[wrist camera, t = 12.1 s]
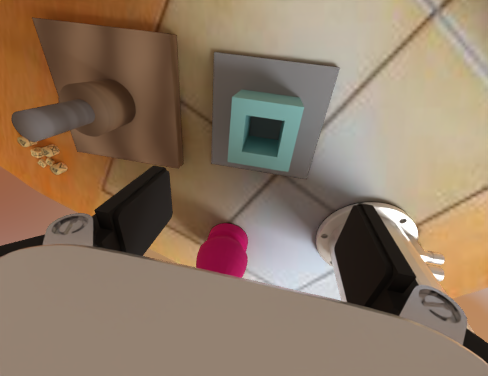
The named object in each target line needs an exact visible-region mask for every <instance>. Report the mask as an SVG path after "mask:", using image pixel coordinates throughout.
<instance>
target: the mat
mask: <svg viewBox="0 0 488 376" xmlns="http://www.w3.org/2000/svg"><path fill="white" fill-rule="evenodd" d="M339 69H340V68H339V67H331V66H323V65H315V64H307V63H298V62H290V61H282V60H274V59H266V58H258V57H250V56H242V55H234V54H226V53H218V52H214V79H213V120H212V162H211V164H217V165H223V166H229V167H235V168H241V169H248V170H254V171H260V172H266V173H272V174H278V175H284V176H290V177H296V178H302V179H307V175H308V172H309V169H310V165H311V162H312V159H313V155H314V152H315V149H316V145H317V142H318V139H319V135H320V132H321V129H322V125H323V122H324V119H325V116H326V112H327V109H328V106H329V102H330V99H331V96H332V92H333V89H334V86H335V82H336V79H337V76H338V72H339ZM240 90H249V91H257V92H264V93H271V94H278V95H285V96H292V97H300V99H301V101H302V103H303V106H304V110H303V114H302V118H301V122H300V126H299V130H298V134H297V138H296V142H295V146H294V151H293V155H292V159H291V163H290V167H289V171H288V172H285V171H279V170H273V169H267V168H261V167H255V166H249V165H243V164H237V163H231V162H228V148H229V134H230V120H231V106H232V97H233V96H234V95H235V94H237V93H238V92H239V91H240ZM281 124H282V120H275V119H268V118H262V117H255V116H251V122H250V130H249V136H255V137H262V138H268V139H274V140H278V139H279V134H280V129H281Z"/></svg>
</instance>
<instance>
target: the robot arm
mask: <svg viewBox="0 0 488 376" xmlns="http://www.w3.org/2000/svg"><path fill="white" fill-rule="evenodd" d="M95 213H96V214H95V215H94V216H92V217H91V216H90V215H88V214H85V213H76V214H70V215H66V216H64V217H61V218H59V219H57V220H55V221H54V222H53V223H51V224H50V225H49V226H48V228H47V230H46V233H45V235H41V236H37V237H33V238H29V239H25V240H22V241H18V242H14V243H10V244H6V245H2V246H0V376H488V343H487V342H485V341H484V340H483V339H481V338H480V337H478V336H477V335H476V334H475V333H474V332H473V331H472V329H471V328H470V326H469V325H468V323H467V317H466V316H465V313H464V311H463V310H462V309H461V308H460V306H459V305H458V304H457V303H456V302H454V300H453V299H452V298H450V297H449V296H448V295H447V293H446V292H445V290H444V289H443V287H442V286H441V285H440V283H439V282H438V281H442V280H443V279H444V271H443V269H442V268H441V267H440V266H436V265H430V264H426V263H425V262H426V261H427V262H429V263H435V264H443V263H444V256H443V255H442V254H441V253H435V252H429V251H428V252H427V251H424V250H423V249H422V247H421V246H420V245H419V243H418V229H417V227H416V224H415V223H414V222H413V220H412V219H411V218H410V216H408V215H407V214H406V213H405V212H404V211H403V210H401V209H399V208H397V207H395V206H392V205H389V204H385V203H379V202H365V203H357V204H353V205H350V206H346V207H344V208H342V209H339V210H337V211H336V212H334V213H333V214H331V215H330V216H329V217H328V218H326V219H325V220H324V221H323V223H322V224H321V225H320V227H319V229H318V231H317V235H316V245H317V249H318V252H319V254H320V256H321V257H322V258H323V260H324V261H325V262H327V263H328V264H329V265H331V266H333V269H334V273H335V277H336V281H337V285H338V289H339V294H340V298H341V301H340V300H336V299H332V298H327V297H323V296H319V295H314V294H310V293H306V292H301V291H297V290H293V289H288V288H284V287H280V286H275V285H271V284H267V283H262V282H258V281H253V280H249V279H244V278H240V277H236V276H231V275H227V274H222V273H218V272H213V271H209V270H204V269H200V268H195V267H191V266H186V265H182V264H177V263H172V262H167V261H163V260H159V259H154V258H149V257H145V256H143V255H144V253H145V252H146V251H147V249H148V248H149V247H150V245H151V244H152V243H153V241H154V240H155V239H156V237H157V236H158V235H159V233H160V232H161V231H162V229H163V228H164V227H165V225H166V224H167V223H168V222H169V220H170V219H171V217H172V213H173V211H172V199H171V188H170V176H169V172H168V171H166V168H164V167H158V166H152V167H151V168H149V169H148V170H147V171H146V172H144V173H143V174H142V175H140V176H139V177H138V178H136V179H135V180H134V181H132V182H131V183H130V184H128V185H127V186H126V187H124V188H123V189H122V190H120V191H119V192H118V193H116V194H115V195H114V196H113V197H111V198H110V199H109V200H107V201H106V202H105V203H103V204H102V205H101V206H99V207H98V208H97V209H95Z"/></svg>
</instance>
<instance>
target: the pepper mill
mask: <svg viewBox="0 0 488 376" xmlns="http://www.w3.org/2000/svg"><path fill="white" fill-rule="evenodd" d="M247 244H248V238H247V235H246V233H245V232H244V231H243V230H242V229H241V228H240V227H238V226H236V225H233V224H229V223H222V224H218V225H216V226H214V227H213V228H212V229H211V231H210V234H209V236H208V239H207V241H205V242H204V243H203V244H202V245H201V247H200V249H199V252H198V255H197V261H196V268H200V269H204V270H209V271H213V272H218V273H222V274H227V275H231V276H236V277H240V278H242V276H243V274H244V272H245V270H246V266H247V254H246V249H247Z"/></svg>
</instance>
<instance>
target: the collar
mask: <svg viewBox="0 0 488 376" xmlns="http://www.w3.org/2000/svg"><path fill="white" fill-rule="evenodd" d="M303 110H304V106H303V103H302V101H301V99H300V97H292V96H285V95H278V94H271V93H264V92H257V91H249V90H240V91H239V92H238V93H237V94H235V95H234V96H233V97H232V106H231V120H230V134H229V148H228V162H231V163H237V164H243V165H249V166H255V167H261V168H267V169H273V170H279V171H285V172H288V171H289V167H290V163H291V159H292V155H293V151H294V146H295V142H296V138H297V134H298V130H299V126H300V122H301V118H302V114H303ZM251 116H255V117H262V118H268V119H275V120H282V124H281V129H280V134H279V139H278V140H274V139H268V138H262V137H255V136H249V130H250V122H251Z"/></svg>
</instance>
